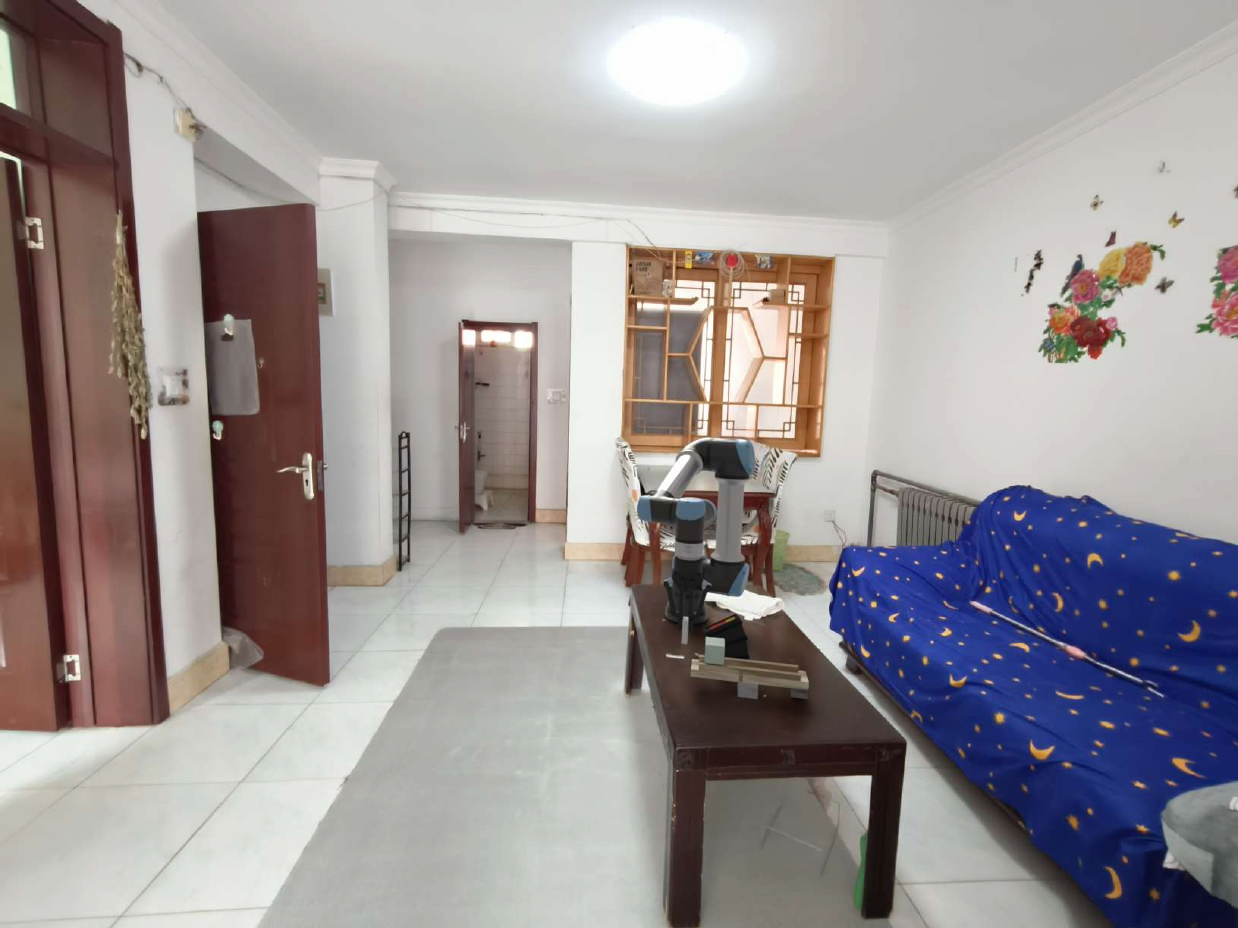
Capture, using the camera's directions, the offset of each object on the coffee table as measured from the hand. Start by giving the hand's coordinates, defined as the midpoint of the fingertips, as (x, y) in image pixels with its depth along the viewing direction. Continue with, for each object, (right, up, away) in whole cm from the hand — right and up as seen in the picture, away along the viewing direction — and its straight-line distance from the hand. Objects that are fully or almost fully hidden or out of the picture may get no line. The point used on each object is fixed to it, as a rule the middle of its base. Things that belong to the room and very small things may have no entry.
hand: (684, 641), depth 146 cm
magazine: (+14, -11, +14) cm, 22 cm away
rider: (+8, -6, 0) cm, 10 cm away
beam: (+16, -13, -1) cm, 21 cm away
